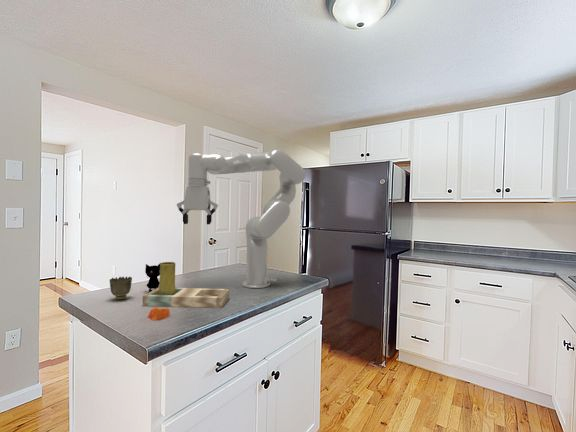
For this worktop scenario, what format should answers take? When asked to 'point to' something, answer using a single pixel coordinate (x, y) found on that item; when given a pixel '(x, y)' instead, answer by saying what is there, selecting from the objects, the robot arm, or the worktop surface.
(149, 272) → the cat figurine
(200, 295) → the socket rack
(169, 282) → the vase
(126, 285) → the cup
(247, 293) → the worktop surface
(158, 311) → the rock
